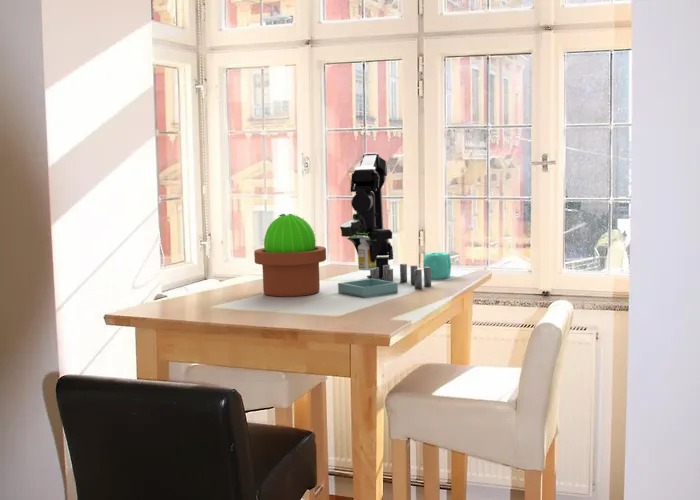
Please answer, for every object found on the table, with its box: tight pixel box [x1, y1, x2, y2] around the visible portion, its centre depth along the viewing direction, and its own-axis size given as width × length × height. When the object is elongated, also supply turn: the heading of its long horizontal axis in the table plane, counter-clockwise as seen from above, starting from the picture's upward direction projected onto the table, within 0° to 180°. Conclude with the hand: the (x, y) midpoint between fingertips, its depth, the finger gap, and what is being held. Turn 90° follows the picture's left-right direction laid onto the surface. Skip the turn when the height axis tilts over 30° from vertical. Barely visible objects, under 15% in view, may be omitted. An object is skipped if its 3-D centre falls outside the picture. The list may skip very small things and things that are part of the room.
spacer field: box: [371, 263, 432, 290], centre depth 282 cm, size 18×14×6 cm
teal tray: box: [337, 278, 399, 299], centre depth 272 cm, size 13×13×3 cm
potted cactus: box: [253, 213, 327, 298], centre depth 275 cm, size 22×22×25 cm
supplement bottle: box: [357, 236, 376, 271], centre depth 271 cm, size 5×5×10 cm
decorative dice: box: [423, 252, 452, 280], centre depth 300 cm, size 8×8×8 cm
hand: (367, 261), depth 271 cm, fingers closed on supplement bottle, 5 cm apart
